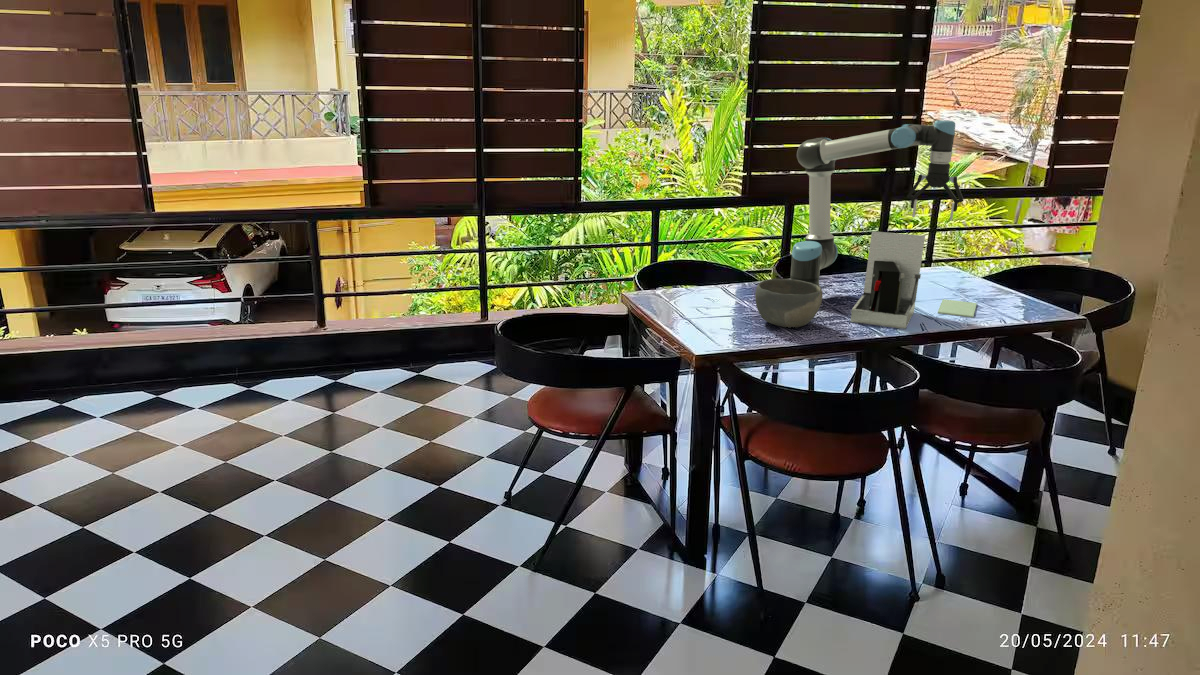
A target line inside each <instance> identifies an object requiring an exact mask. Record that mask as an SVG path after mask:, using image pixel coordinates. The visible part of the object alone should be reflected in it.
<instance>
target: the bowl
mask: <svg viewBox="0 0 1200 675" xmlns="http://www.w3.org/2000/svg"><path fill="white" fill-rule="evenodd" d="M754 294H755V296H754V298H755V305H756V309H757V311H758V314H759V315H760V317H761V318H762V319H763V320H764V321H766V322H767V323H769V324H772V325H774V326H778V327H782V328H786V327H788V328H790V329H791V327H793V328H794V327H795V328H796V329H797V328H800V327H804V326H806V325H807V324H809V323H810V322H811V321H812V320H813V319H814V318H815V316H817V315H816V314H817V313H818V312H819V309H820V307H821V305H822V302H823V290H822V288H821V286H820V287H819V286H818V285H816V284H813V283H809V282H805V281H800V280H793V279H790V278H789V279H788V278H771V279H766V280H763V281H761V282H759V283H758V284H757V285H756V289H755V293H754Z"/></svg>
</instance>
